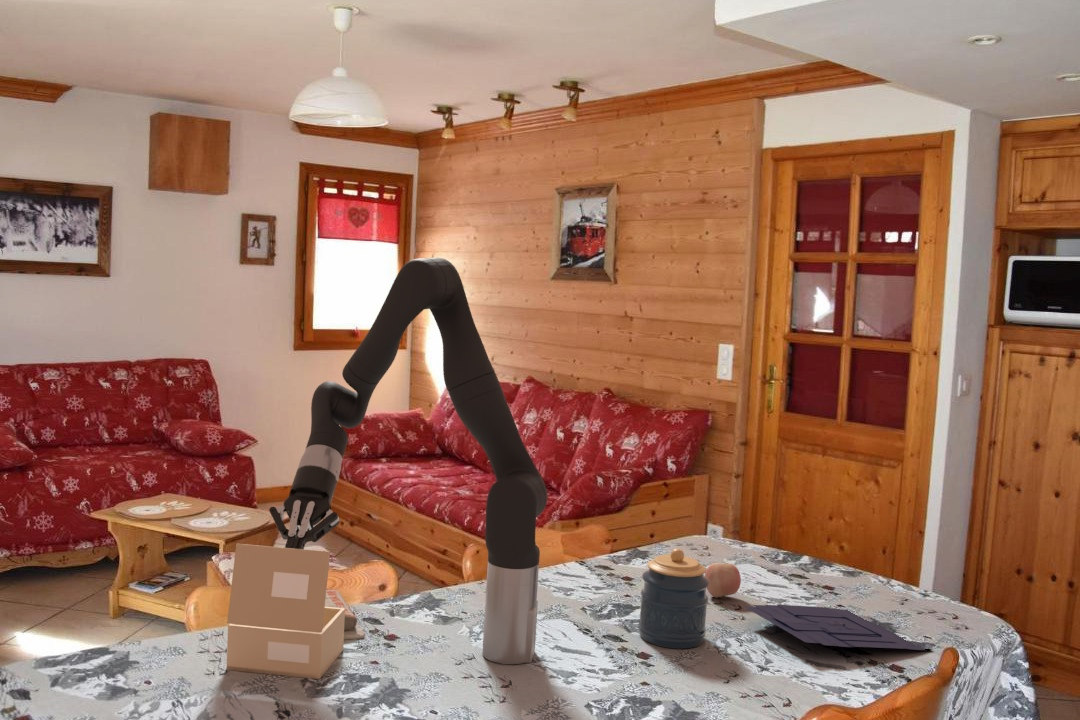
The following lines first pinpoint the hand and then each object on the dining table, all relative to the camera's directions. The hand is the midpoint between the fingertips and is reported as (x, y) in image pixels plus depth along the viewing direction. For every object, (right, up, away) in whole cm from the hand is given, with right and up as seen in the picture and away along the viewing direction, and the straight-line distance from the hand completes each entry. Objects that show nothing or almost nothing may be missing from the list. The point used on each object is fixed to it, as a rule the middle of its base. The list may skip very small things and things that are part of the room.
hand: (290, 559), depth 167 cm
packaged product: (+2, -17, +20) cm, 26 cm away
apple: (+83, -19, +50) cm, 99 cm away
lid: (-1, -4, -5) cm, 6 cm away
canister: (+68, -20, +24) cm, 75 cm away
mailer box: (-1, -17, +1) cm, 18 cm away
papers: (+102, -22, +30) cm, 108 cm away
